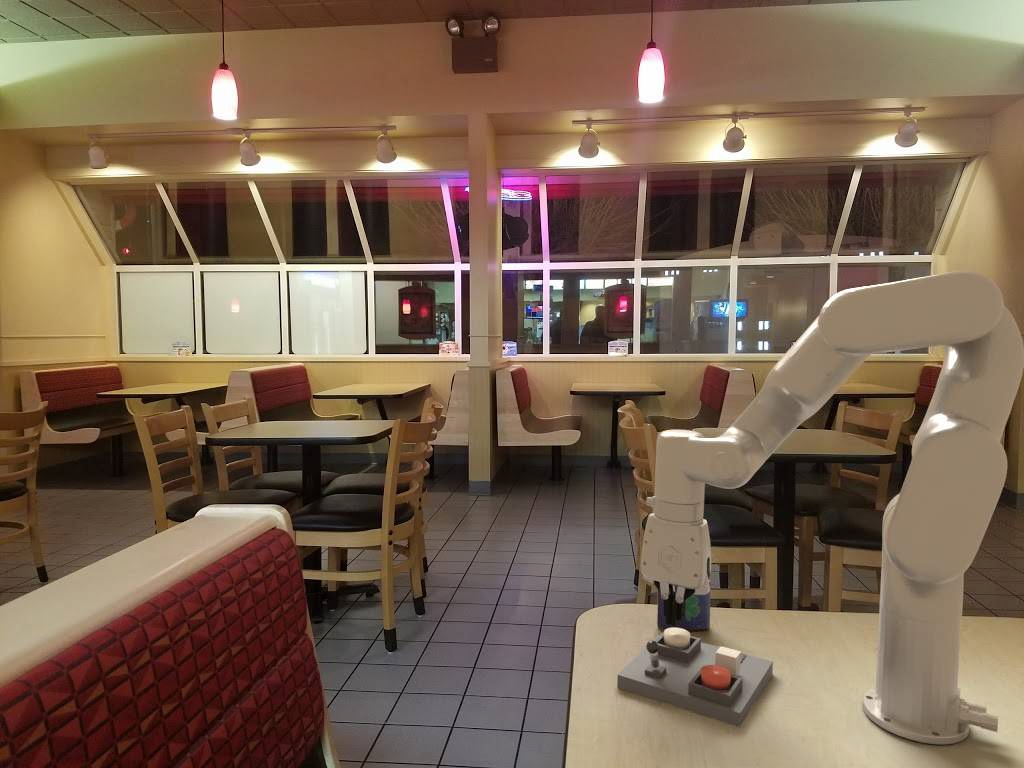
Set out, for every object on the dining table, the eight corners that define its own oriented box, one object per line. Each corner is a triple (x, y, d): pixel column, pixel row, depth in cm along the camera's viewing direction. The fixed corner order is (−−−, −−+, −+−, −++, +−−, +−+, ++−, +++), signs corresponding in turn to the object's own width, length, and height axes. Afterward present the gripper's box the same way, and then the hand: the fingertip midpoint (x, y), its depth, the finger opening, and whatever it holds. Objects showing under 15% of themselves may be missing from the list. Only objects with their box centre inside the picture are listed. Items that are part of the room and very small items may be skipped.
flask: (708, 625, 124) (709, 567, 122) (712, 633, 121) (713, 573, 120) (655, 624, 124) (656, 566, 123) (658, 632, 121) (659, 572, 120)
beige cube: (740, 670, 103) (740, 651, 102) (735, 677, 101) (736, 658, 100) (720, 665, 104) (720, 646, 104) (715, 672, 102) (715, 652, 102)
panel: (772, 673, 107) (773, 651, 106) (739, 727, 93) (740, 701, 92) (661, 643, 117) (662, 622, 116) (617, 687, 103) (617, 664, 102)
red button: (734, 680, 98) (734, 669, 98) (725, 693, 95) (725, 682, 95) (706, 672, 100) (706, 662, 100) (696, 684, 97) (697, 673, 97)
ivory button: (693, 641, 110) (693, 631, 110) (684, 651, 107) (684, 641, 107) (669, 634, 113) (669, 625, 112) (659, 644, 109) (660, 634, 109)
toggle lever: (663, 664, 103) (659, 639, 101) (659, 672, 102) (655, 648, 100) (652, 660, 104) (648, 636, 102) (647, 669, 103) (643, 645, 101)
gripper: (624, 506, 109) (620, 618, 111) (718, 524, 101) (712, 645, 102) (643, 496, 115) (639, 603, 117) (734, 512, 107) (728, 626, 109)
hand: (673, 622), depth 110 cm, fingers closed
